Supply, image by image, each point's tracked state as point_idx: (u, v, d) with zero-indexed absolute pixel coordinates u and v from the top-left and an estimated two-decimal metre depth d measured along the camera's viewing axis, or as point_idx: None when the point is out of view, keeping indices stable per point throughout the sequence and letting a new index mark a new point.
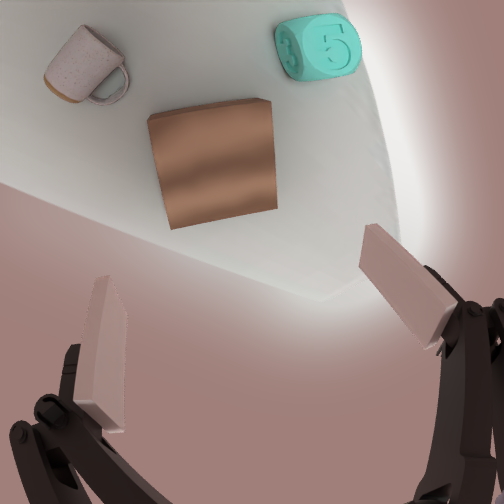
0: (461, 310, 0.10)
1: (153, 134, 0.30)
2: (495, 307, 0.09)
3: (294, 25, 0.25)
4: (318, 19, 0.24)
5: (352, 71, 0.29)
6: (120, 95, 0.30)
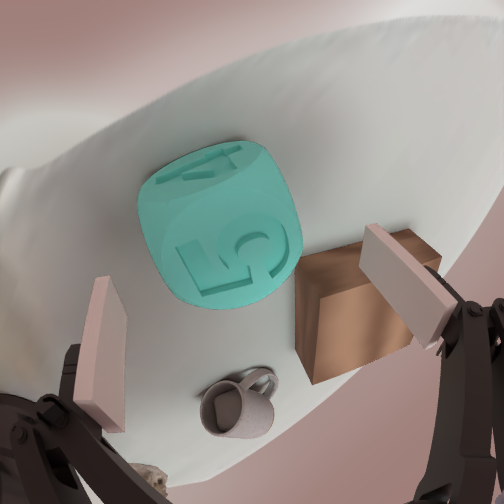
0: (461, 310, 0.10)
1: (326, 378, 0.31)
2: (495, 307, 0.09)
3: None
4: (182, 291, 0.16)
5: (286, 195, 0.15)
6: (272, 375, 0.35)
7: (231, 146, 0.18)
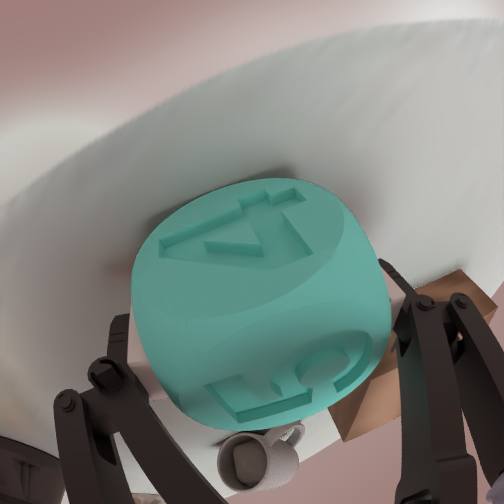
0: (410, 306, 0.10)
1: (359, 435, 0.25)
2: (452, 304, 0.10)
3: None
4: (210, 422, 0.10)
5: (383, 294, 0.09)
6: (299, 426, 0.29)
7: (282, 190, 0.12)
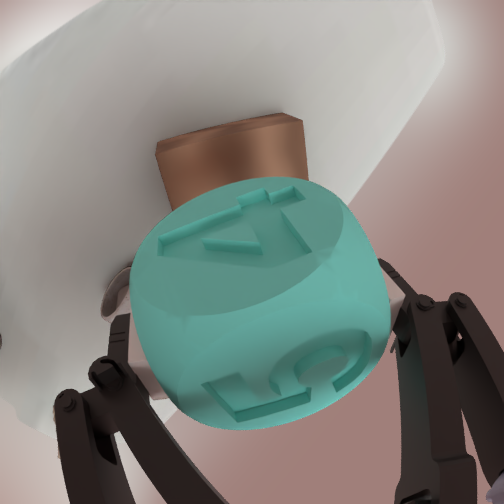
0: (409, 306, 0.10)
1: None
2: (451, 304, 0.10)
3: None
4: (209, 421, 0.10)
5: (382, 293, 0.09)
6: None
7: (281, 188, 0.12)
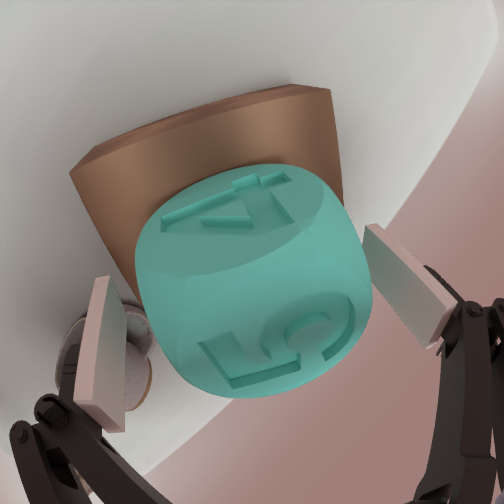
0: (461, 310, 0.10)
1: None
2: (495, 307, 0.09)
3: None
4: (206, 386, 0.11)
5: (361, 261, 0.10)
6: (142, 317, 0.24)
7: (271, 173, 0.13)
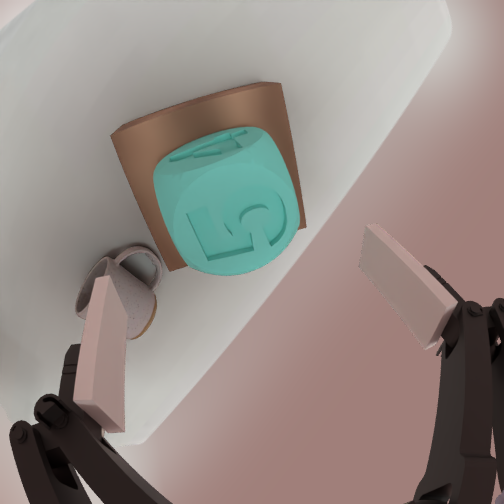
0: (461, 310, 0.10)
1: (184, 263, 0.28)
2: (495, 307, 0.09)
3: None
4: (190, 255, 0.18)
5: (284, 171, 0.17)
6: (152, 255, 0.32)
7: (238, 131, 0.20)
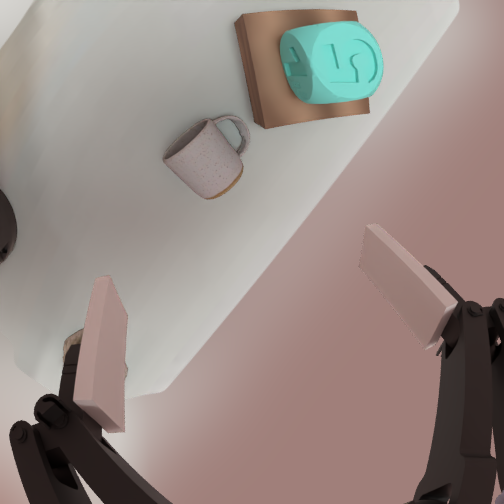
0: (461, 310, 0.10)
1: (279, 122, 0.32)
2: (495, 307, 0.09)
3: (322, 99, 0.24)
4: (319, 74, 0.22)
5: (374, 38, 0.21)
6: (243, 124, 0.35)
7: None
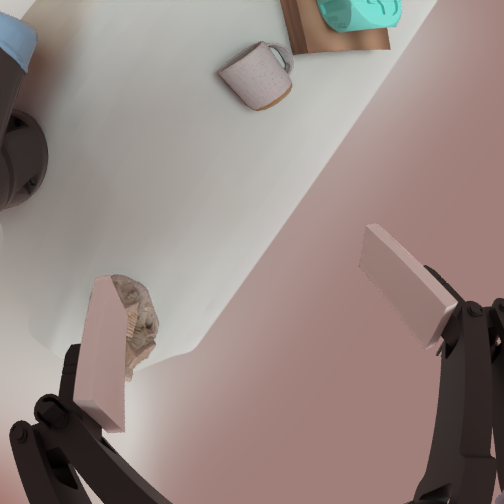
0: (461, 310, 0.10)
1: (319, 49, 0.31)
2: (495, 307, 0.09)
3: (359, 25, 0.25)
4: (356, 5, 0.22)
5: None
6: (287, 52, 0.35)
7: None
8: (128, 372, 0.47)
